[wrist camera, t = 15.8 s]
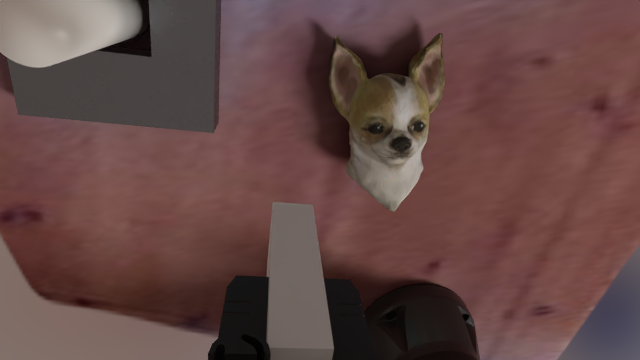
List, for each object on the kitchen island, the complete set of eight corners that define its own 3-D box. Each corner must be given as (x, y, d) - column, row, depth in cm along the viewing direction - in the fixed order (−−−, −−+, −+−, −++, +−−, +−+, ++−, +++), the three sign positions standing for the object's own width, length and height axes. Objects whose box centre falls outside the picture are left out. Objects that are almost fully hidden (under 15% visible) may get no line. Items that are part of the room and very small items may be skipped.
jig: (218, 122, 38) (213, 132, 35) (38, 104, 35) (18, 114, 33) (223, -102, 30) (217, -111, 27) (-7, -142, 28) (-38, -156, 25)
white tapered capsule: (151, 41, 34) (76, 71, 21) (98, 34, 33) (-12, 62, 21) (149, -15, 32) (65, -17, 20) (92, -24, 32) (-33, -31, 19)
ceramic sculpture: (337, 224, 34) (336, 40, 28) (326, 184, 42) (323, 34, 36) (457, 216, 35) (480, 36, 29) (423, 179, 42) (436, 32, 37)
